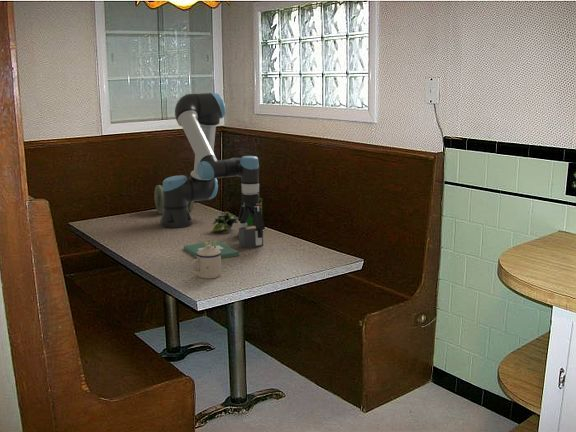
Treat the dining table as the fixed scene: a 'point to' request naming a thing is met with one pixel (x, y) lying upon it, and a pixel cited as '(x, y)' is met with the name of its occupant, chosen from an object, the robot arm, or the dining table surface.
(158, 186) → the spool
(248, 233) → the plug housing
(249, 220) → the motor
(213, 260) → the teacup with lid
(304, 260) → the dining table surface
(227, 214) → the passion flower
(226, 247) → the header board
